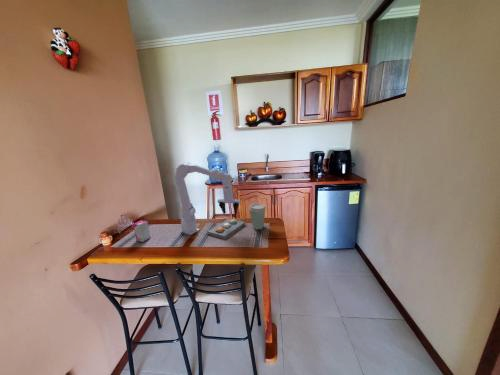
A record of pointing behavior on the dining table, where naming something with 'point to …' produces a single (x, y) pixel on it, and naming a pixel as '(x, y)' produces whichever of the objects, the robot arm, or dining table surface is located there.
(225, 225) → the ivory button
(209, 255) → the dining table surface
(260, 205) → the disposable coffee cup
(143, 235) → the supplement box
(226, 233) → the button panel
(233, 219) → the green button
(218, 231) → the terracotta button
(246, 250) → the dining table surface
